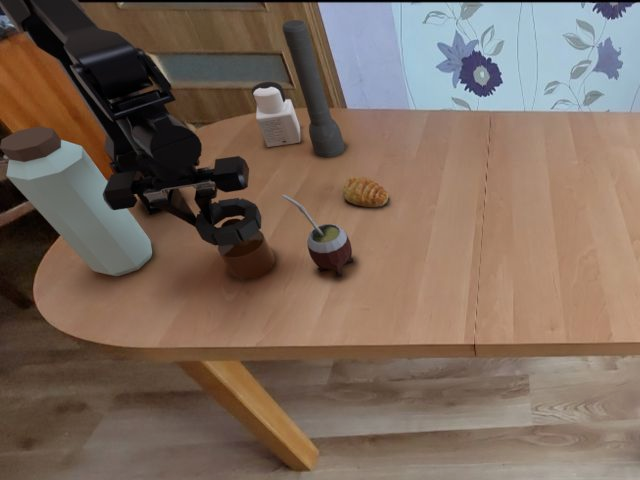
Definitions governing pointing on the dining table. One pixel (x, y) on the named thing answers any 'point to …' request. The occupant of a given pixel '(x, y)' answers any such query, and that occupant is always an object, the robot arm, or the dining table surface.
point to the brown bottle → (247, 255)
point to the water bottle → (75, 200)
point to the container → (275, 115)
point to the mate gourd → (327, 244)
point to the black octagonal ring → (236, 231)
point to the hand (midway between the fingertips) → (204, 224)
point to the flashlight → (313, 91)
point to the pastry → (364, 192)
